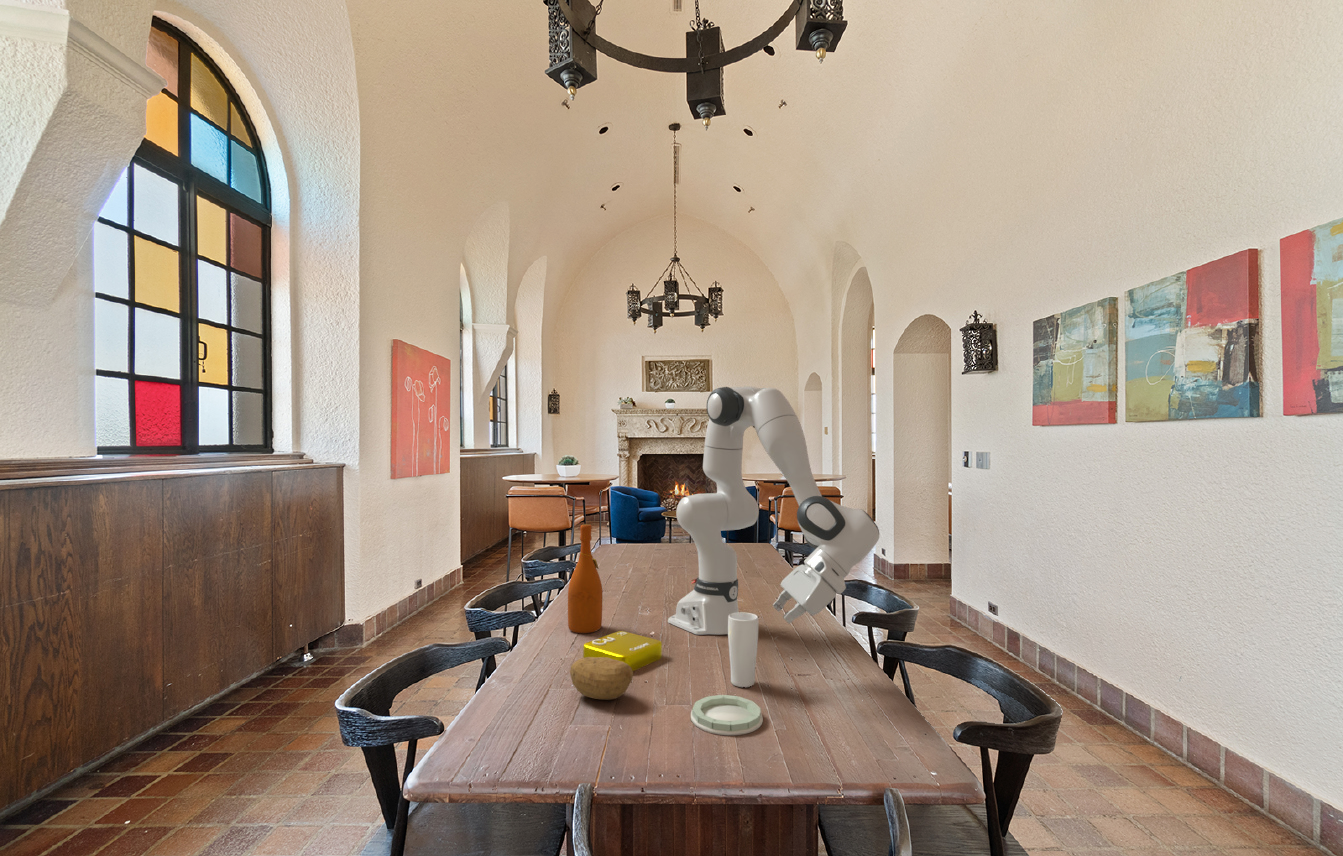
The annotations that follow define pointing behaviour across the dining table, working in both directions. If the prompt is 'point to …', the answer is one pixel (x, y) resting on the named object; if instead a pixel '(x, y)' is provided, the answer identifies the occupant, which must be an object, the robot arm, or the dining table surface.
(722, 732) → the green rimmed plate
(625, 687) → the potato
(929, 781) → the dining table surface
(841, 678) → the dining table surface
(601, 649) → the element tile
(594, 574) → the wine bottle
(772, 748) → the dining table surface
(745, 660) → the drinking glass
